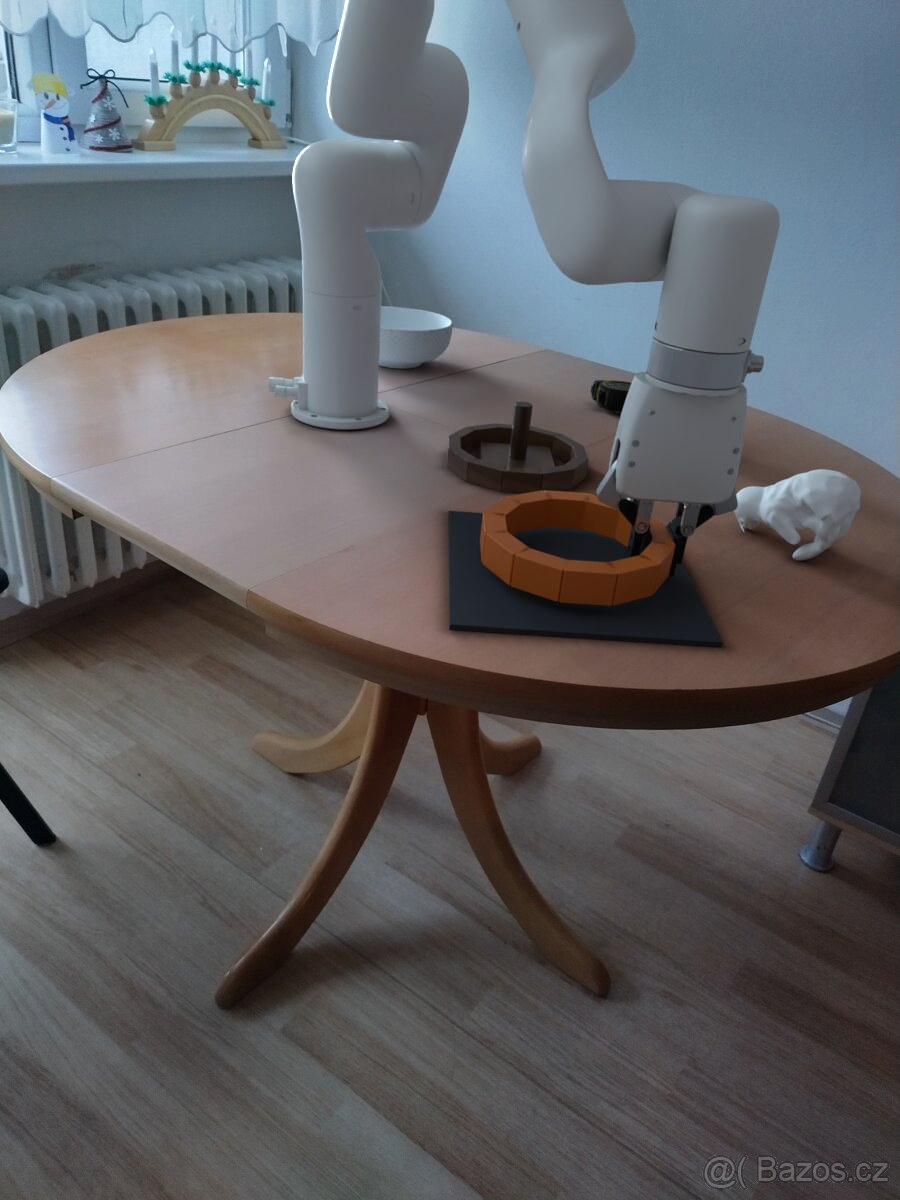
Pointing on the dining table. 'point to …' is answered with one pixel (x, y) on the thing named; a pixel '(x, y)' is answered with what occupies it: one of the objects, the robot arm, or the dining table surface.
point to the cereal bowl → (412, 336)
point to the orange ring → (571, 576)
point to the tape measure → (610, 394)
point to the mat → (510, 610)
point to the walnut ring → (510, 476)
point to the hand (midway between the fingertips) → (651, 567)
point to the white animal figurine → (803, 508)
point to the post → (518, 445)
